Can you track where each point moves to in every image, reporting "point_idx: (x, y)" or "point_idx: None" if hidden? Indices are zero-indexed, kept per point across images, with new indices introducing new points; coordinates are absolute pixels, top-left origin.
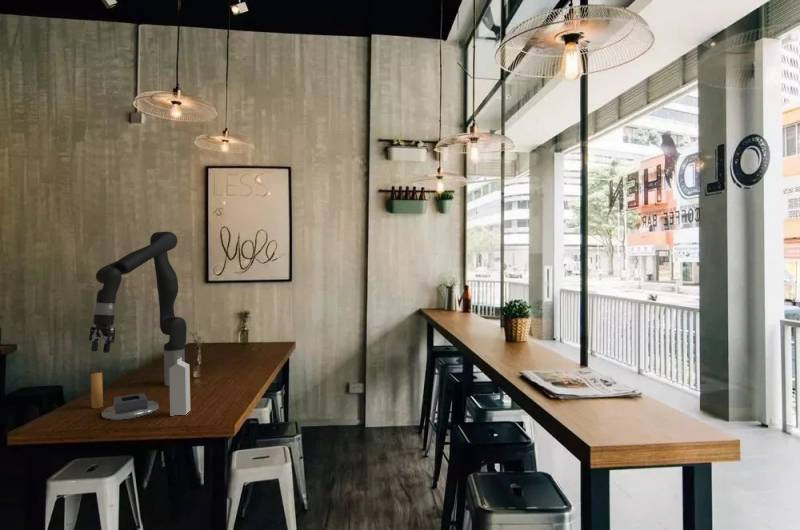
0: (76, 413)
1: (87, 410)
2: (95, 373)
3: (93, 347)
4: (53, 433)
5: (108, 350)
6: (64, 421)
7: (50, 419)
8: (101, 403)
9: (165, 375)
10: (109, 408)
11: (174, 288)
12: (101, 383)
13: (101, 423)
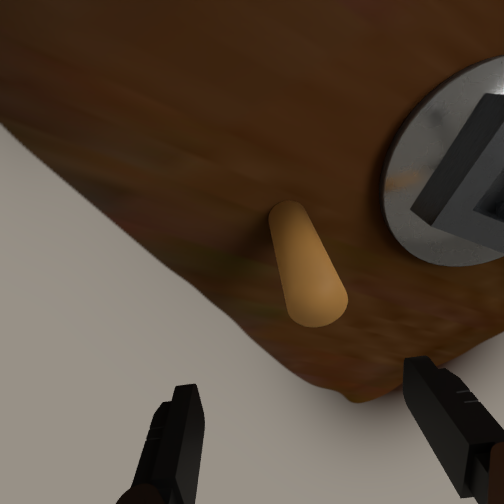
0: None
1: None
2: (304, 305)
3: (199, 453)
4: None
5: (454, 384)
6: (352, 327)
7: (293, 341)
8: (308, 216)
9: None
10: (406, 226)
11: None
12: (328, 256)
13: (483, 279)
